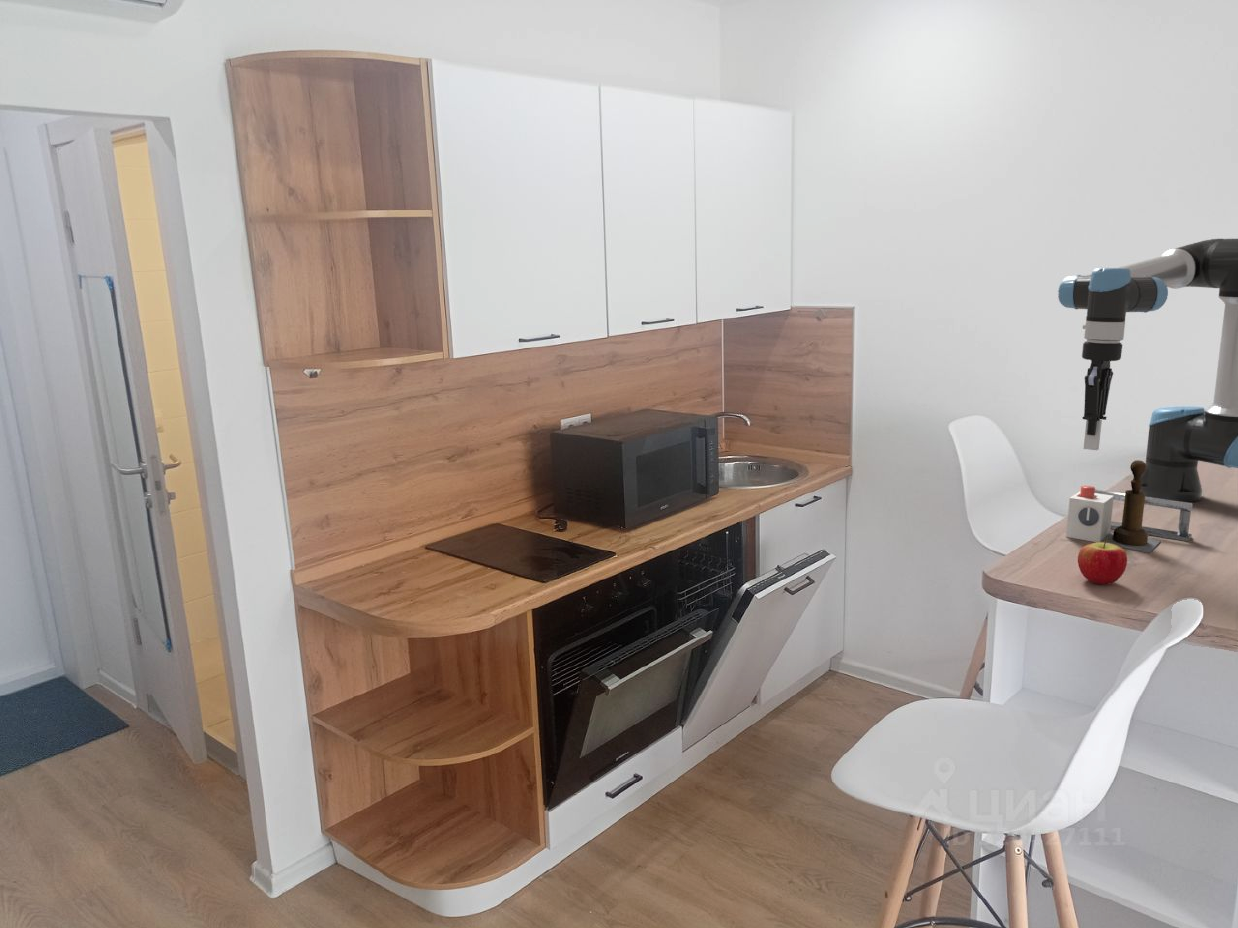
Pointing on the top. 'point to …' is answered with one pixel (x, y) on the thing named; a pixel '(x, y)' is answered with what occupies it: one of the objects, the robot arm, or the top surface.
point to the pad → (1143, 548)
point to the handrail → (1182, 506)
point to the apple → (1102, 562)
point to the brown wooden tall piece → (1133, 511)
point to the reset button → (1087, 492)
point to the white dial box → (1089, 517)
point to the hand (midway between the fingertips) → (1091, 449)
